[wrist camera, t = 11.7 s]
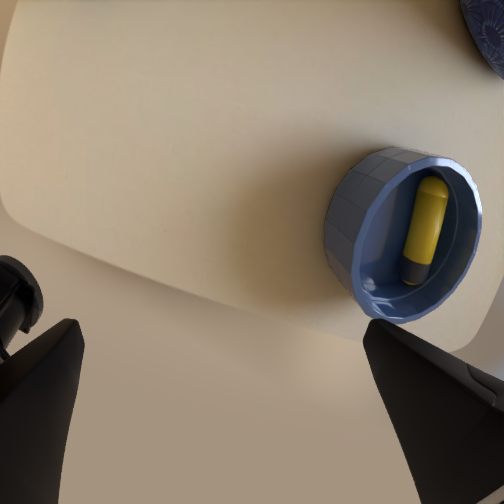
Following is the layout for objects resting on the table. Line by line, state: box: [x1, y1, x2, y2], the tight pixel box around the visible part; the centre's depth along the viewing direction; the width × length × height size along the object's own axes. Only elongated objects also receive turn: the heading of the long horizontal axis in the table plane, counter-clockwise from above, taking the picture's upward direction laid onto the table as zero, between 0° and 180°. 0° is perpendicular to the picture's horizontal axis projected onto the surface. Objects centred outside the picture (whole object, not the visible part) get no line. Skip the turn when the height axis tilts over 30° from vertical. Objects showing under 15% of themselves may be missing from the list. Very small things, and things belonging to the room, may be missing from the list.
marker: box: [397, 176, 449, 285], centre depth 20 cm, size 9×3×3 cm
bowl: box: [324, 147, 482, 324], centre depth 19 cm, size 12×12×5 cm
